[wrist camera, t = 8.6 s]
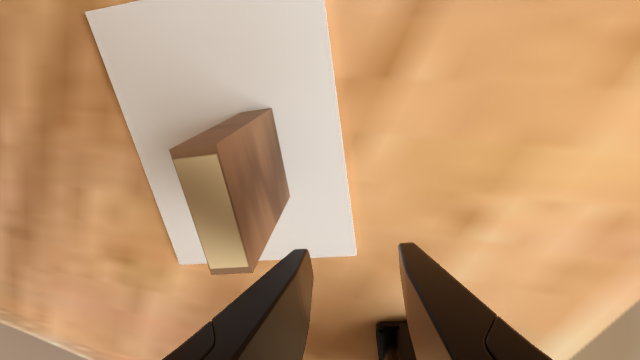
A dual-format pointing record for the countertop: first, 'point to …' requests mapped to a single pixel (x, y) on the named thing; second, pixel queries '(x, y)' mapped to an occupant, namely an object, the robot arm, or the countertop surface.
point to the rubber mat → (233, 104)
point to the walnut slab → (234, 188)
